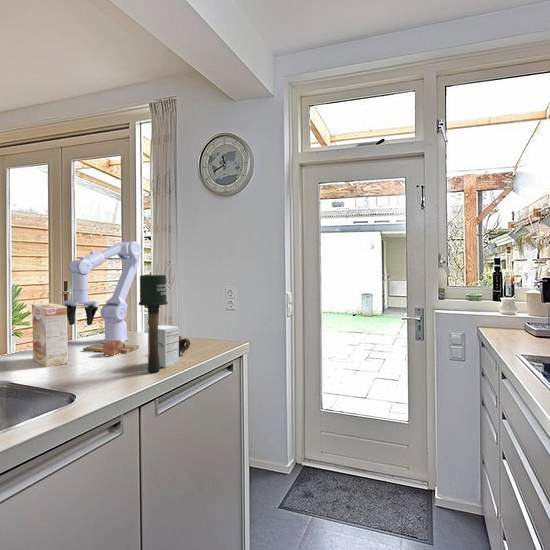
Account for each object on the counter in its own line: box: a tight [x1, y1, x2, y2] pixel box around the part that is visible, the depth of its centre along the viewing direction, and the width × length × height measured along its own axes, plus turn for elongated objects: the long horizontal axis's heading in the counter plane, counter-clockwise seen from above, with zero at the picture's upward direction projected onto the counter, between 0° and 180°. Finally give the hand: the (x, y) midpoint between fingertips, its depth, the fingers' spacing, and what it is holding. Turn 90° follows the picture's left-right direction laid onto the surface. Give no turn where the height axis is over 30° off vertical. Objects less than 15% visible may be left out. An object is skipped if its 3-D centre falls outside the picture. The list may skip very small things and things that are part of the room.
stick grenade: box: [138, 274, 168, 374], centre depth 128 cm, size 8×9×30 cm
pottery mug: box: [179, 335, 191, 357], centre depth 153 cm, size 12×10×8 cm
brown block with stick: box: [102, 340, 127, 357], centre depth 155 cm, size 11×4×5 cm, turn 170°
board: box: [82, 343, 140, 354], centre depth 160 cm, size 9×18×1 cm, turn 80°
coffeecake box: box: [31, 302, 69, 368], centre depth 141 cm, size 15×7×20 cm, turn 45°
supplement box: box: [147, 324, 180, 369], centre depth 137 cm, size 7×7×13 cm
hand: (80, 324), depth 162 cm, fingers open, 7 cm apart
